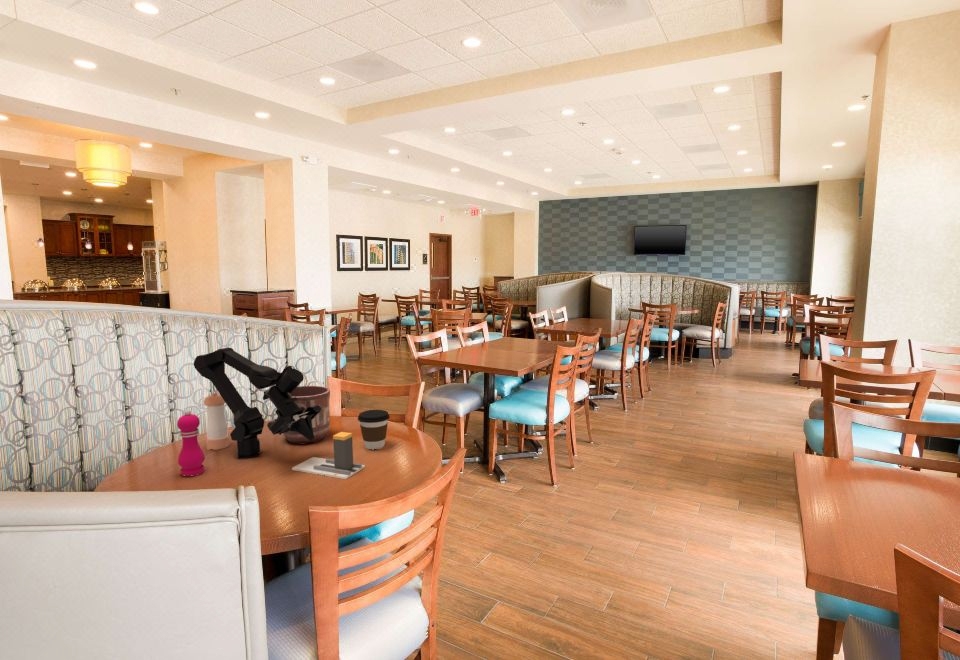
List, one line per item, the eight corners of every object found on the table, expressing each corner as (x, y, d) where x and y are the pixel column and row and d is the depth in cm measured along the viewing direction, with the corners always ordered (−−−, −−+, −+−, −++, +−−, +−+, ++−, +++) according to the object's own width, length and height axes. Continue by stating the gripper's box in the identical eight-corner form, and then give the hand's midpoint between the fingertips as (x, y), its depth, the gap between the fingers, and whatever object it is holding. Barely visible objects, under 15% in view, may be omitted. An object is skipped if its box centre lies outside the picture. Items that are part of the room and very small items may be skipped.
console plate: (292, 469, 163) (291, 464, 163) (313, 458, 172) (313, 454, 172) (345, 479, 156) (345, 474, 156) (364, 467, 165) (364, 462, 165)
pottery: (286, 450, 180) (284, 399, 178) (275, 436, 195) (273, 389, 192) (337, 441, 190) (336, 392, 187) (323, 428, 204) (321, 383, 202)
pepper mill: (178, 479, 157) (173, 414, 154) (179, 471, 163) (174, 408, 160) (205, 474, 160) (200, 411, 157) (205, 466, 166) (201, 405, 164)
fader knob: (334, 470, 161) (333, 435, 159) (342, 465, 164) (341, 431, 163) (345, 472, 159) (344, 437, 158) (353, 467, 163) (352, 433, 162)
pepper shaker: (223, 449, 181) (219, 395, 179) (202, 449, 181) (198, 395, 179) (233, 442, 188) (230, 390, 186) (213, 442, 189) (209, 390, 186)
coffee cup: (356, 444, 186) (354, 411, 184) (386, 440, 190) (385, 407, 189) (361, 454, 176) (360, 419, 174) (394, 449, 180) (393, 415, 179)
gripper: (289, 410, 179) (316, 446, 176) (247, 424, 161) (277, 464, 159) (308, 389, 176) (336, 426, 173) (268, 401, 158) (298, 442, 156)
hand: (312, 439), depth 165 cm, fingers closed
